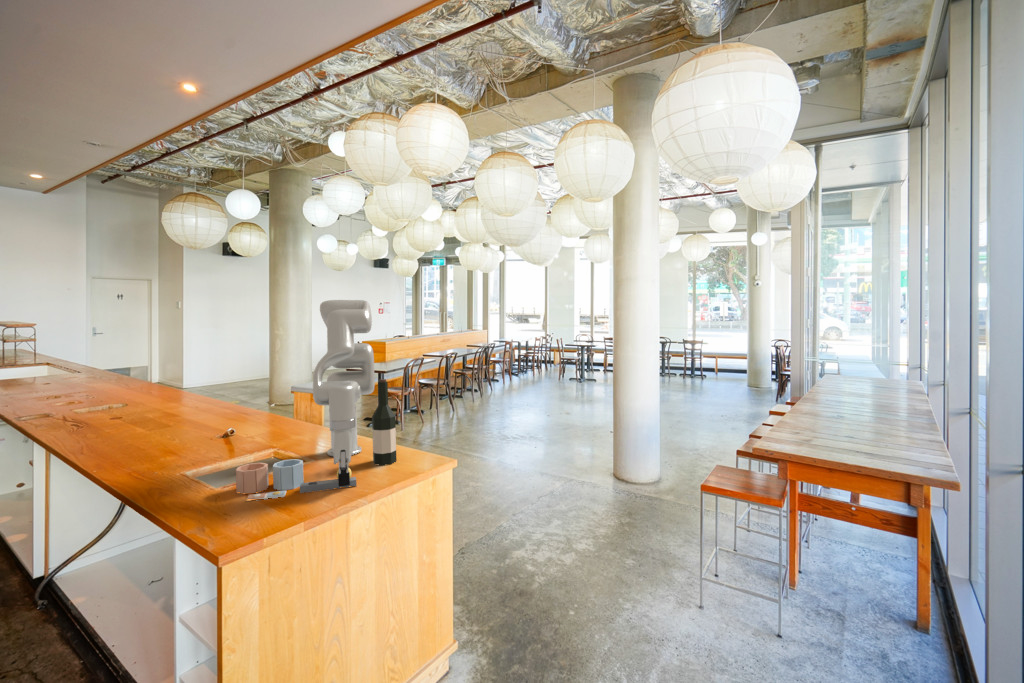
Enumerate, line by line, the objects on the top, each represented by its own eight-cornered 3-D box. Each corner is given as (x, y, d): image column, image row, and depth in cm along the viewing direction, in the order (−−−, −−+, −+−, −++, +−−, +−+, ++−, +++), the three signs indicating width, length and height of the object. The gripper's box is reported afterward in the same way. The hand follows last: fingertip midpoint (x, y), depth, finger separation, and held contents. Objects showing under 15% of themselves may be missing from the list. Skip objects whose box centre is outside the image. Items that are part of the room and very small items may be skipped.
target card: (249, 496, 137) (248, 493, 137) (286, 491, 140) (286, 489, 140) (245, 501, 133) (245, 499, 133) (284, 497, 136) (284, 494, 136)
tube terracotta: (240, 486, 145) (239, 464, 145) (270, 483, 148) (269, 461, 147) (234, 496, 137) (233, 472, 137) (265, 492, 140) (264, 469, 140)
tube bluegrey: (276, 482, 148) (275, 461, 148) (304, 479, 151) (303, 458, 151) (272, 491, 141) (271, 468, 140) (301, 488, 143) (301, 465, 143)
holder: (301, 489, 142) (300, 483, 142) (356, 483, 147) (356, 476, 147) (300, 493, 139) (299, 486, 139) (356, 486, 144) (356, 479, 144)
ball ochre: (337, 479, 146) (336, 465, 146) (351, 477, 147) (351, 464, 147) (336, 484, 142) (336, 469, 141) (351, 482, 143) (351, 468, 143)
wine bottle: (368, 462, 168) (366, 379, 167) (388, 456, 175) (386, 377, 173) (380, 467, 163) (378, 381, 161) (401, 461, 169) (399, 379, 167)
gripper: (330, 419, 150) (332, 475, 151) (328, 431, 134) (330, 493, 135) (355, 418, 153) (356, 472, 154) (355, 429, 137) (357, 490, 138)
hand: (344, 481), depth 144 cm, fingers open, 5 cm apart
